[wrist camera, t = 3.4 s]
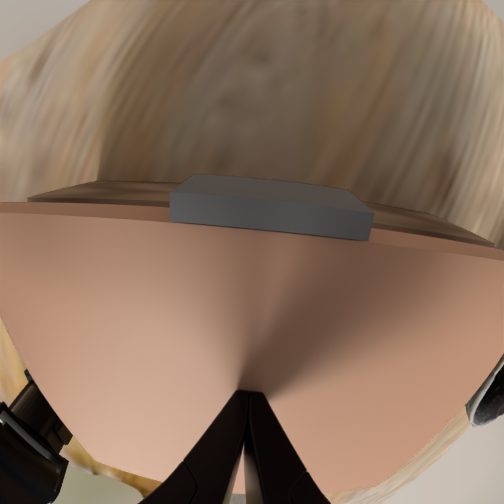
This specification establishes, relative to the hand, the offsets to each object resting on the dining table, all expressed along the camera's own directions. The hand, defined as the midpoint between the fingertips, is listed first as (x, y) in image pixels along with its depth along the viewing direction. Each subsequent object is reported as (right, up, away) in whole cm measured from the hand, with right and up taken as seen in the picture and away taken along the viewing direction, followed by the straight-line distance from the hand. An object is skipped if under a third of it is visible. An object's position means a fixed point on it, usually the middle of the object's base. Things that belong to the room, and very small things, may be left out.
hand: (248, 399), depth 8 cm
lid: (0, -2, +3) cm, 4 cm away
